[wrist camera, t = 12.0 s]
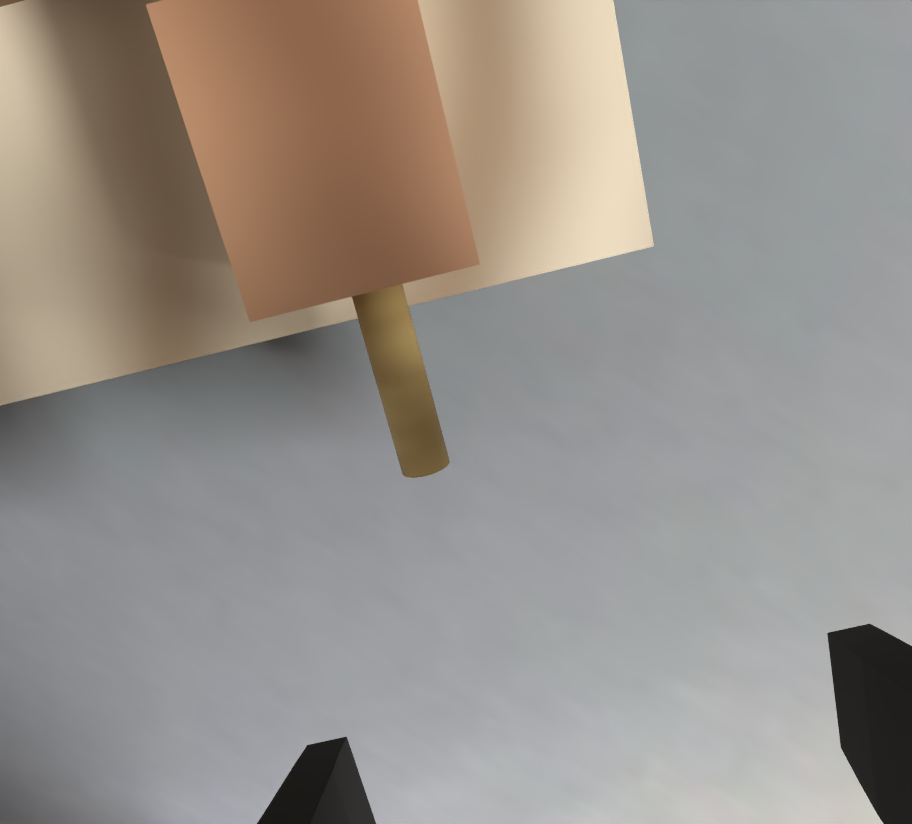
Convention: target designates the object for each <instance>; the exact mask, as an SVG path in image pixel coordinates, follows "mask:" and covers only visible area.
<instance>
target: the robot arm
mask: <svg viewBox="0 0 912 824" xmlns="http://www.w3.org/2000/svg"><path fill="white" fill-rule="evenodd" d="M828 642H829V650H830V659H831V667H832V675H833V684H834V692H835V701H836V709H837V718H838V726H839V734H840V743H841V749H842V750H843V752H844V754H845V756H846V758H847V760H848V762H849V764H850V765H851V767H852V769H853V771H854V773H855V775H856V777H857V778H858V780H859V782H860V784H861V786H862V788H863V789H864V791H865V793H866V795H867V797H868V798H869V800H870V802H871V804H872V805H873V807H874V809H875V811H876V812H877V814H878V816H879V817H880V819H881V820H882V822H883V823H884V824H912V646H910V645H908V644H907V643H905V642H903V641H901V640H899V639H898V638H896V637H894V636H892V635H890V634H888V633H886V632H885V631H883V630H881V629H879V628H877V627H875V626H873V625H871V624H867V625H862V626H857V627H853V628H848V629H844V630H839V631H834V632H830V633H828ZM257 824H376V822H375V819H374V816H373V814H372V811H371V808H370V805H369V802H368V799H367V796H366V793H365V790H364V787H363V784H362V781H361V778H360V775H359V772H358V769H357V766H356V763H355V760H354V757H353V754H352V751H351V748H350V746H349V743H348V740H347V737H343V738H339V739H334V740H329V741H325V742H320V743H315V744H311V745H307V747H306V748H305V750H304V751H303V753H302V754H301V756H300V757H299V759H298V760H297V762H296V763H295V765H294V766H293V768H292V770H291V771H290V773H289V774H288V776H287V777H286V779H285V781H284V782H283V784H282V785H281V787H280V789H279V790H278V792H277V793H276V795H275V796H274V798H273V800H272V801H271V803H270V804H269V806H268V807H267V809H266V811H265V812H264V814H263V815H262V817H261V818H260V820H259V822H258V823H257Z"/></svg>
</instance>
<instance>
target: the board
mask: <svg viewBox="0 0 912 824" xmlns="http://www.w3.org/2000/svg"><path fill="white" fill-rule="evenodd" d="M157 1H161V0H0V406H1V405H5V404H9V403H13V402H17V401H21V400H25V399H29V398H33V397H38V396H42V395H46V394H50V393H54V392H58V391H62V390H66V389H70V388H74V387H79V386H83V385H87V384H91V383H95V382H99V381H103V380H107V379H111V378H115V377H120V376H124V375H128V374H132V373H136V372H140V371H144V370H148V369H152V368H156V367H161V366H165V365H169V364H173V363H177V362H181V361H185V360H189V359H193V358H197V357H202V356H206V355H210V354H214V353H218V352H222V351H226V350H230V349H234V348H238V347H243V346H247V345H251V344H255V343H259V342H263V341H267V340H271V339H275V338H279V337H284V336H288V335H292V334H296V333H300V332H304V331H308V330H312V329H316V328H320V327H325V326H329V325H333V324H337V323H341V322H345V321H349V320H353V319H357V318H358V317H357V313H356V310H355V306H354V303H353V299H352V297H348V298H344V299H340V300H336V301H332V302H328V303H324V304H320V305H317V306H313V307H309V308H305V309H301V310H297V311H293V312H289V313H285V314H281V315H277V316H273V317H269V318H265V319H261V320H257V321H253V322H250V321H249V318H248V315H247V312H246V309H245V306H244V303H243V300H242V297H241V294H240V291H239V288H238V285H237V282H236V279H235V276H234V273H233V270H232V266H231V263H230V260H229V257H228V254H227V251H226V248H225V245H224V242H223V239H222V236H221V233H220V230H219V227H218V224H217V221H216V218H215V215H214V212H213V208H212V205H211V202H210V199H209V196H208V193H207V190H206V187H205V184H204V181H203V178H202V175H201V172H200V169H199V166H198V163H197V160H196V157H195V154H194V151H193V147H192V144H191V141H190V138H189V135H188V132H187V129H186V126H185V123H184V120H183V117H182V114H181V111H180V108H179V105H178V102H177V99H176V96H175V93H174V90H173V86H172V83H171V80H170V77H169V74H168V71H167V68H166V65H165V62H164V59H163V56H162V53H161V50H160V47H159V44H158V41H157V38H156V35H155V32H154V29H153V25H152V22H151V19H150V16H149V13H148V10H147V7H146V4H150V3H154V2H157ZM418 4H419V8H420V12H421V16H422V21H423V25H424V29H425V33H426V38H427V42H428V46H429V50H430V55H431V59H432V63H433V67H434V72H435V76H436V80H437V84H438V88H439V93H440V97H441V101H442V105H443V110H444V114H445V118H446V122H447V127H448V131H449V135H450V139H451V144H452V148H453V152H454V156H455V160H456V165H457V169H458V173H459V177H460V182H461V186H462V190H463V194H464V199H465V203H466V207H467V211H468V216H469V220H470V224H471V228H472V232H473V237H474V241H475V245H476V249H477V254H478V258H479V262H480V265H476V266H472V267H468V268H464V269H460V270H456V271H452V272H448V273H444V274H440V275H436V276H432V277H428V278H424V279H420V280H416V281H412V282H408V283H404V284H402V285H403V288H404V292H405V296H406V300H407V303H408V306H411V305H415V304H419V303H423V302H427V301H431V300H435V299H439V298H443V297H448V296H452V295H456V294H460V293H464V292H468V291H472V290H476V289H480V288H484V287H489V286H493V285H497V284H501V283H505V282H509V281H513V280H517V279H521V278H525V277H530V276H534V275H538V274H542V273H546V272H550V271H554V270H558V269H562V268H566V267H571V266H575V265H579V264H583V263H587V262H591V261H595V260H599V259H603V258H607V257H612V256H616V255H620V254H624V253H628V252H632V251H636V250H640V249H644V248H648V247H653V246H654V244H653V238H652V232H651V226H650V220H649V214H648V208H647V202H646V196H645V190H644V184H643V178H642V172H641V166H640V160H639V154H638V147H637V141H636V135H635V129H634V123H633V117H632V111H631V105H630V99H629V93H628V87H627V81H626V75H625V69H624V63H623V57H622V51H621V45H620V39H619V33H618V27H617V21H616V14H615V8H614V2H613V0H418Z"/></svg>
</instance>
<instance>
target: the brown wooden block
mask: <svg viewBox="0 0 912 824" xmlns="http://www.w3.org/2000/svg"><path fill="white" fill-rule="evenodd" d="M146 7H147V10H148V13H149V16H150V19H151V22H152V25H153V29H154V32H155V35H156V38H157V41H158V44H159V47H160V50H161V53H162V56H163V59H164V62H165V65H166V68H167V71H168V74H169V77H170V80H171V83H172V86H173V90H174V93H175V96H176V99H177V102H178V105H179V108H180V111H181V114H182V117H183V120H184V123H185V126H186V129H187V132H188V135H189V138H190V141H191V144H192V147H193V151H194V154H195V157H196V160H197V163H198V166H199V169H200V172H201V175H202V178H203V181H204V184H205V187H206V190H207V193H208V196H209V199H210V202H211V205H212V208H213V212H214V215H215V218H216V221H217V224H218V227H219V230H220V233H221V236H222V239H223V242H224V245H225V248H226V251H227V254H228V257H229V260H230V263H231V266H232V270H233V273H234V276H235V279H236V282H237V285H238V288H239V291H240V294H241V297H242V300H243V303H244V306H245V309H246V312H247V315H248V318H249V321H250V322H253V321H257V320H261V319H265V318H269V317H273V316H277V315H281V314H285V313H289V312H293V311H297V310H301V309H305V308H309V307H313V306H317V305H320V304H324V303H328V302H332V301H336V300H340V299H344V298H348V297H352V299H353V303H354V306H355V310H356V313H357V317H358V320H359V324H360V327H361V331H362V334H363V338H364V341H365V345H366V348H367V352H368V355H369V359H370V362H371V366H372V369H373V373H374V376H375V380H376V383H377V386H378V390H379V393H380V397H381V400H382V404H383V407H384V411H385V414H386V418H387V421H388V425H389V428H390V432H391V435H392V439H393V442H394V446H395V449H396V453H397V456H398V460H399V463H400V467H401V470H402V474H403V475H404V476H406V477H411V478H415V477H423V476H427V475H431V474H433V473H436V472H438V471H440V470H442V469H444V468H445V467H446V466H447V465H448V464H449V462H450V461H449V457H448V453H447V450H446V446H445V442H444V438H443V435H442V431H441V427H440V423H439V420H438V416H437V412H436V408H435V405H434V401H433V397H432V393H431V390H430V386H429V382H428V378H427V375H426V371H425V367H424V363H423V360H422V356H421V352H420V348H419V345H418V341H417V337H416V333H415V330H414V326H413V322H412V318H411V315H410V311H409V307H408V303H407V300H406V296H405V292H404V288H403V285H402V284H404V283H408V282H412V281H416V280H420V279H424V278H428V277H432V276H436V275H440V274H444V273H448V272H452V271H456V270H460V269H464V268H468V267H472V266H476V265H480V262H479V258H478V254H477V249H476V245H475V241H474V237H473V232H472V228H471V224H470V220H469V216H468V211H467V207H466V203H465V199H464V194H463V190H462V186H461V182H460V177H459V173H458V169H457V165H456V160H455V156H454V152H453V148H452V144H451V139H450V135H449V131H448V127H447V122H446V118H445V114H444V110H443V105H442V101H441V97H440V93H439V88H438V84H437V80H436V76H435V72H434V67H433V63H432V59H431V55H430V50H429V46H428V42H427V38H426V33H425V29H424V25H423V21H422V16H421V12H420V8H419V4H418V0H161V1H157V2H154V3H150V4H146Z"/></svg>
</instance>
